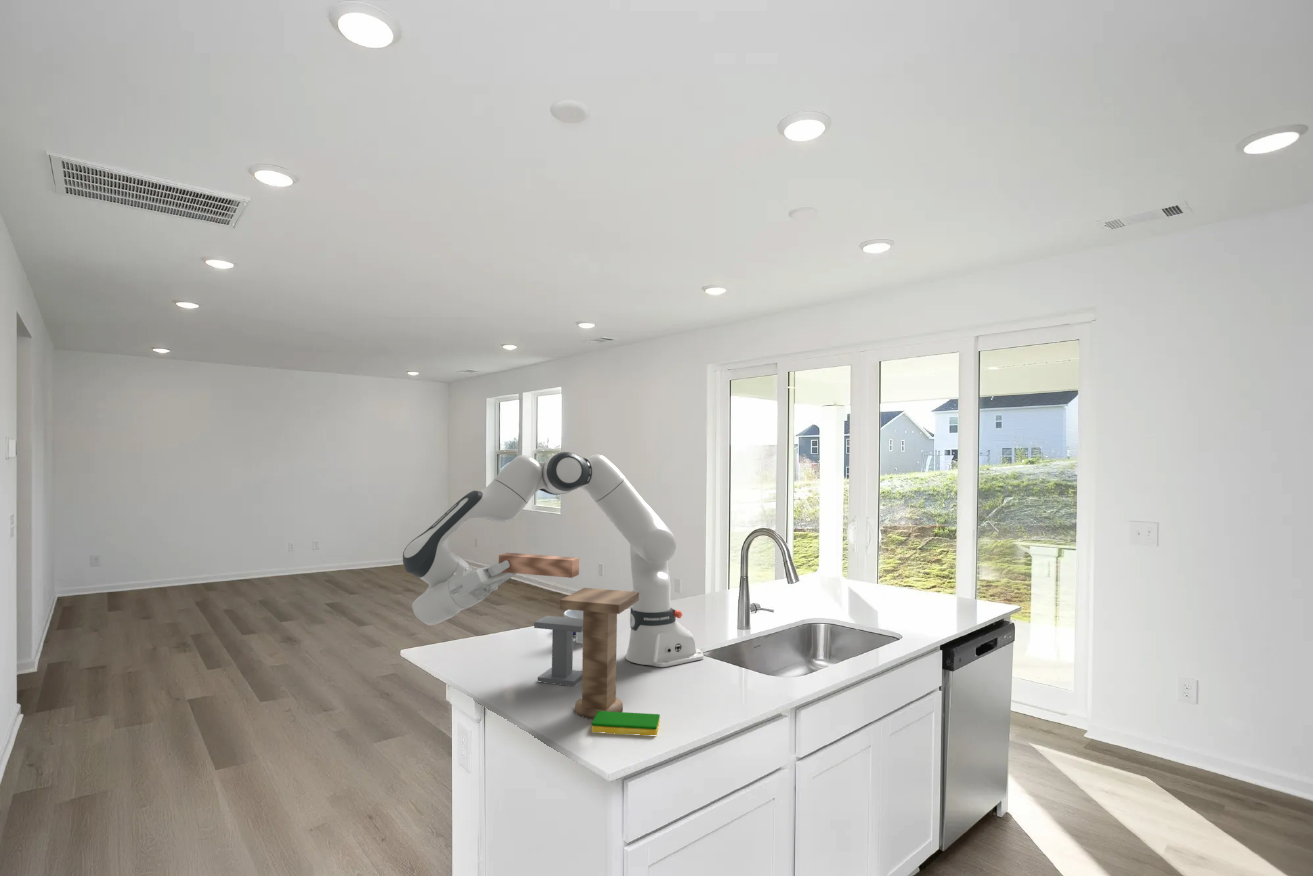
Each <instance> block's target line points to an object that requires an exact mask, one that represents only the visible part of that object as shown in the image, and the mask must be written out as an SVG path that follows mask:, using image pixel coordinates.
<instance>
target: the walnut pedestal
mask: <svg viewBox="0 0 1313 876" xmlns="http://www.w3.org/2000/svg"><path fill="white" fill-rule="evenodd" d="M637 601H639V592H632V591H631V590H630V591H629V590H618V589H617V590H616V589H605V588H602V589H601V588H591V587H583V588H581V589H579V590H577V591H575V592H572V593H571V594H569V595H566V596H565V597H563V598H560V599H559V609H560V610H566V611H567V610H579V611H583V644H582V664H581V665H582V670H581V671H582V680H581V698H579V699H578V700H576V702H575V703H574V712H575V714H576V713H577V714H576V715H578V716H579V715H580V717H582V716H583V718H585V717H587V718H586V719H590V718H592V719H591V720H594V718H595V715H596V713H597V711H610V712H624V710H623V709H624V703H623V701H622V700H621V699H619V698H618V697H616V696H617V650H618V649H617V645H618V644H617V642H618V641H617V639H618V638H617V637H618V636H617V633H618V629H617V628H618V615H619V614H621V613H623V612H624V611H626V610H627V609H628V608H631V607H632V605H633V604H634V603H636V602H637Z"/></svg>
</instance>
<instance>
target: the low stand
mask: <svg viewBox="0 0 1313 876" xmlns="http://www.w3.org/2000/svg"><path fill="white" fill-rule="evenodd" d="M533 628H534V629H540V630H542V629H543V630H552V633H551V634H552V639H551V640H552V643H551V646H552V647H551V667H550V668H548V670H546V671H544V672H543V673H541V674H540V675H539V676H537V682H538V681H541V682H540V683H542V682H546V683H545V684H551V683H555V684H554V685H559V684H561V685H560V686H567V685H570V687H575V686H576V685H577V684H578V683H580V682H581V681H582V680H581V679H582V670H576V669H573V659H574V656H573V653H574V652H573V651H574V647H573V646H574V635H573V632H582V631H583V619H576V618H565V617H564V616H563V617H562V616H553V615H545V616H542V617H541V618H539V619H537V620H536V621H533ZM580 680H581V681H580ZM574 685H575V686H574Z"/></svg>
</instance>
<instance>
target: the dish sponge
mask: <svg viewBox="0 0 1313 876" xmlns="http://www.w3.org/2000/svg"><path fill="white" fill-rule="evenodd" d="M660 719H661V717H660V714H659V713H644V712H643V713H642V712H624V711H622V712H610V711H597V713H596V715H595V718H594V719H592V722H591V733H592V732H605V733H612V734H611V735H621V734H640V735H657V736H658V732H659V728H660V724H659V723H660V722H661V720H660ZM658 727H659V728H658ZM614 733H615V734H614Z"/></svg>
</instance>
